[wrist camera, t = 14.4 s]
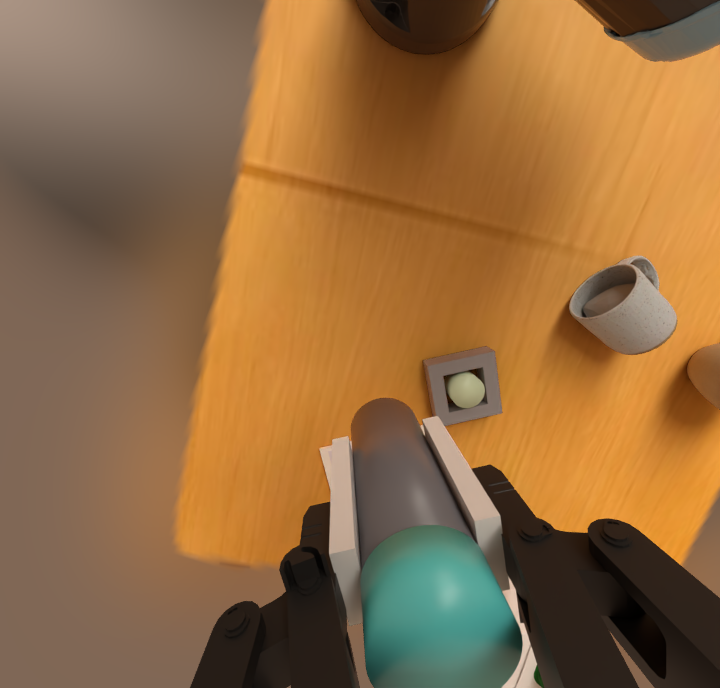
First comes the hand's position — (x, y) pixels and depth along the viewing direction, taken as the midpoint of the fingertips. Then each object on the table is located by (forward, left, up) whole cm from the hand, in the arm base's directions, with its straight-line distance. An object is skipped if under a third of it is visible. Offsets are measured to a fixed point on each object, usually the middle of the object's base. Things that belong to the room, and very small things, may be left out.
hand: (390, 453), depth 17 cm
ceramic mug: (+2, +30, -27) cm, 40 cm away
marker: (0, 0, -3) cm, 3 cm away
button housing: (+9, +11, -27) cm, 30 cm away
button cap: (+9, +11, -27) cm, 30 cm away
